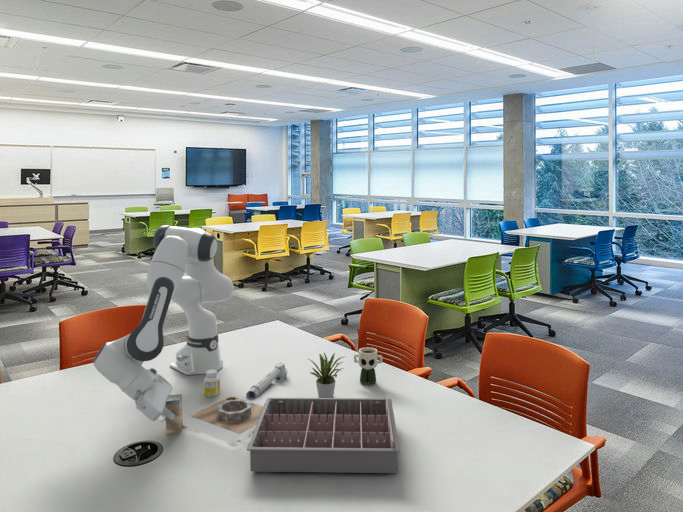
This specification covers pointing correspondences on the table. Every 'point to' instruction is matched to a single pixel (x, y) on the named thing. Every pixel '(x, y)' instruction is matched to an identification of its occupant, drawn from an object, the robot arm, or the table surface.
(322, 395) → the house plant
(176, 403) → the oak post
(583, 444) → the table surface
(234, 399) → the oak ring
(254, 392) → the electric toothbrush
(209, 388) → the supplement bottle
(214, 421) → the collar board
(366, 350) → the character mug
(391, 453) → the organizer tray
